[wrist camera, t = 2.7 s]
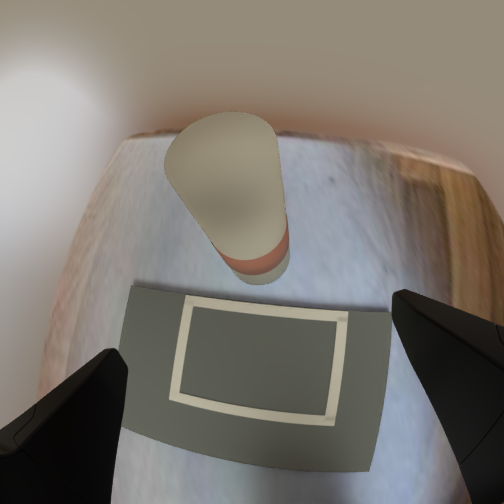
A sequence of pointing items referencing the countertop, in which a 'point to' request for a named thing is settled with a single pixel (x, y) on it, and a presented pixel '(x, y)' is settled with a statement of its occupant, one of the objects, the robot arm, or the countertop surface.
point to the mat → (256, 379)
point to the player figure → (234, 191)
